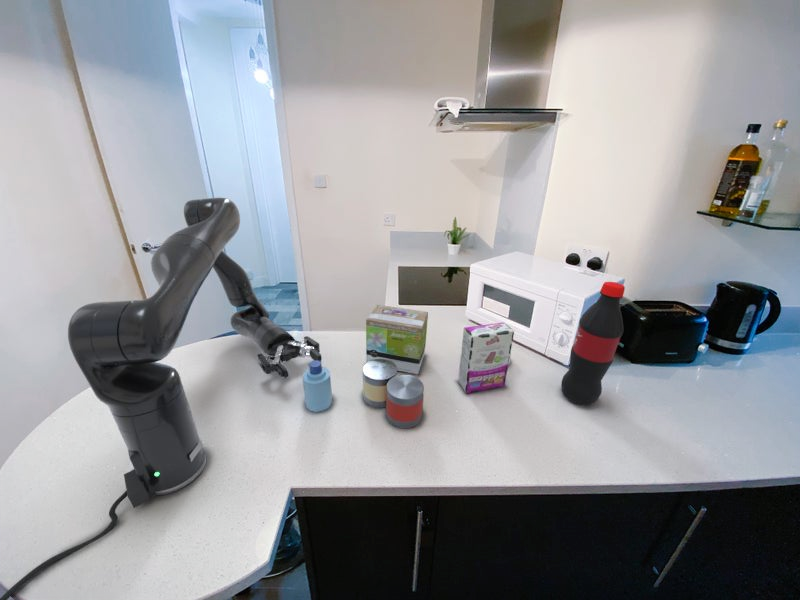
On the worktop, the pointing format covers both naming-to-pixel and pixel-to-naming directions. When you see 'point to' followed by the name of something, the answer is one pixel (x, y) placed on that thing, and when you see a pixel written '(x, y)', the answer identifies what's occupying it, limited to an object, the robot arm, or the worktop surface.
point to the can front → (404, 401)
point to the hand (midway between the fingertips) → (303, 366)
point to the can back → (377, 381)
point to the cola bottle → (594, 346)
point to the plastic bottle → (317, 387)
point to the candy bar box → (485, 356)
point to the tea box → (397, 337)
